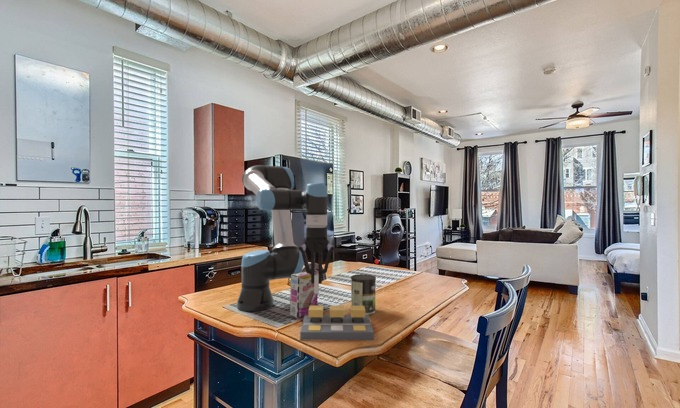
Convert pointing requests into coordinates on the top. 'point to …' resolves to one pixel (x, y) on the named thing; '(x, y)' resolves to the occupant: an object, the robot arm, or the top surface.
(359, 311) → the button
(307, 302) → the candy bar box
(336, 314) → the button
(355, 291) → the coffee can
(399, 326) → the top surface
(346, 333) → the board
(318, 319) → the button
